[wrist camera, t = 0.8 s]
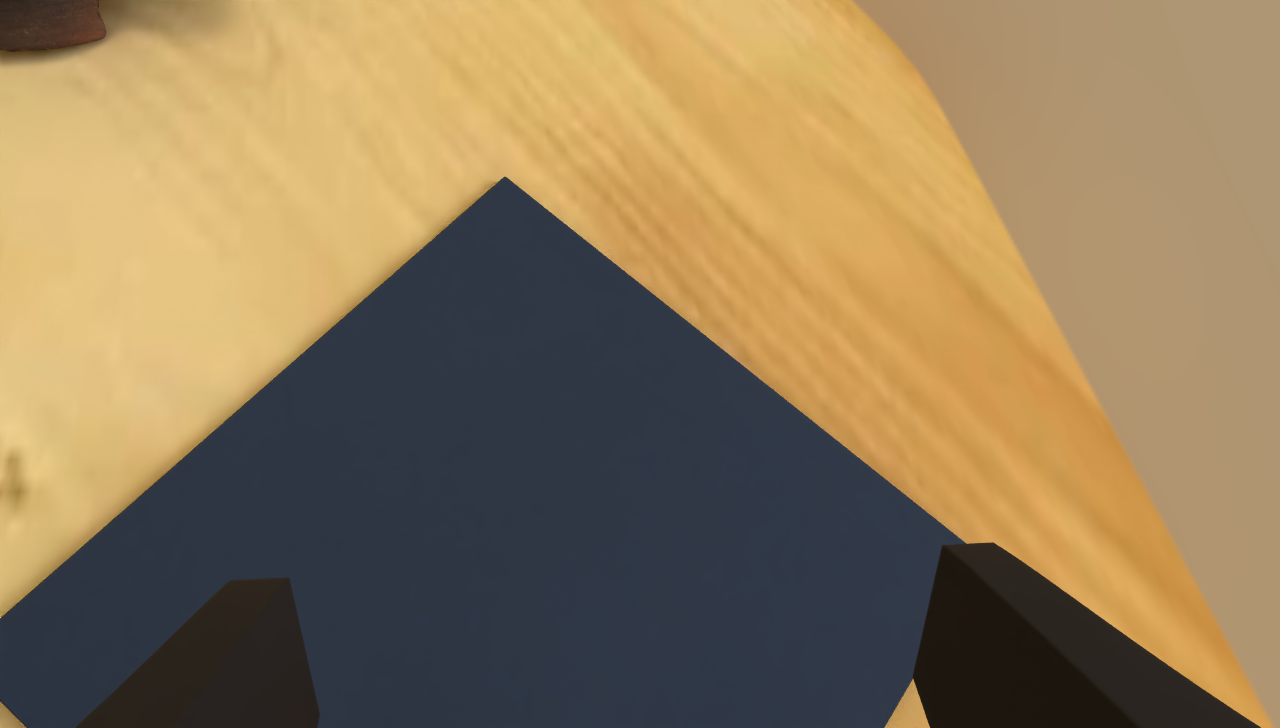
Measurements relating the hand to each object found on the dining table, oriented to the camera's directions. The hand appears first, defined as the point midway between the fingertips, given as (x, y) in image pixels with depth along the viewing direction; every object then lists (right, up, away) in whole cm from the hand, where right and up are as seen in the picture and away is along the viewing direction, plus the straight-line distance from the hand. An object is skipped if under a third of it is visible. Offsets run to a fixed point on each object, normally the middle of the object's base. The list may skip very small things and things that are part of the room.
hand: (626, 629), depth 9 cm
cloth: (-3, -4, +14) cm, 15 cm away
